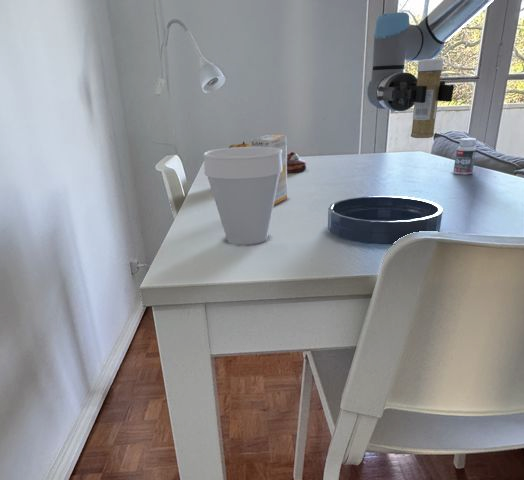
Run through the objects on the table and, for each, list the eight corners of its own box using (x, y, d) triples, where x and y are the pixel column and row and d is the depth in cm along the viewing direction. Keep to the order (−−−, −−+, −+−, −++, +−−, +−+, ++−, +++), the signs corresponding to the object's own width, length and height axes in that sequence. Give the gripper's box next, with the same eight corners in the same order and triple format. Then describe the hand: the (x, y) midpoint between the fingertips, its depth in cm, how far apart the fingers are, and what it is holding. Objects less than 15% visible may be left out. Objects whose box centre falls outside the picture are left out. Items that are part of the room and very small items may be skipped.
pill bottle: (450, 174, 124) (456, 139, 120) (455, 171, 128) (461, 137, 123) (469, 175, 122) (475, 140, 118) (474, 172, 125) (480, 138, 121)
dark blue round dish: (416, 215, 88) (418, 193, 86) (457, 244, 72) (461, 218, 70) (319, 220, 88) (320, 198, 86) (340, 250, 72) (341, 224, 70)
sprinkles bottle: (438, 137, 94) (449, 58, 88) (423, 139, 92) (433, 58, 86) (419, 135, 98) (429, 59, 91) (405, 137, 95) (413, 60, 89)
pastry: (290, 168, 143) (289, 150, 140) (311, 169, 139) (312, 151, 136) (275, 172, 137) (275, 153, 134) (298, 173, 133) (298, 154, 131)
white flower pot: (288, 247, 74) (287, 154, 67) (210, 252, 73) (201, 158, 67) (279, 227, 85) (277, 145, 78) (211, 230, 84) (203, 148, 77)
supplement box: (268, 197, 107) (266, 134, 100) (288, 198, 105) (287, 134, 99) (252, 205, 101) (248, 138, 94) (272, 207, 99) (270, 139, 92)
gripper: (433, 109, 109) (479, 114, 88) (359, 112, 108) (388, 118, 88) (438, 71, 105) (487, 68, 85) (361, 74, 105) (392, 72, 84)
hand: (437, 93), depth 86 cm, fingers closed on sprinkles bottle, 4 cm apart
